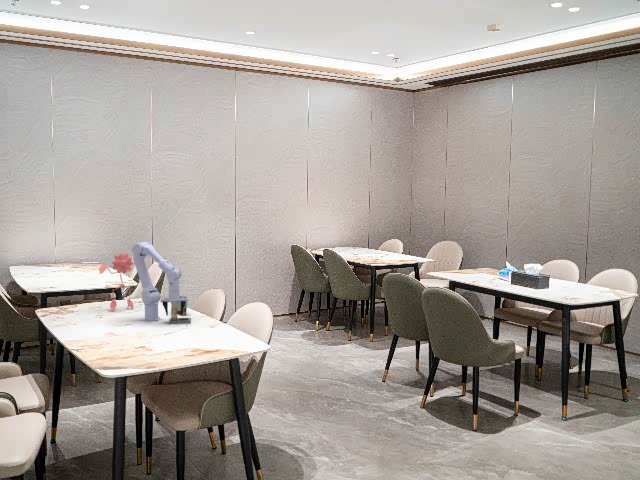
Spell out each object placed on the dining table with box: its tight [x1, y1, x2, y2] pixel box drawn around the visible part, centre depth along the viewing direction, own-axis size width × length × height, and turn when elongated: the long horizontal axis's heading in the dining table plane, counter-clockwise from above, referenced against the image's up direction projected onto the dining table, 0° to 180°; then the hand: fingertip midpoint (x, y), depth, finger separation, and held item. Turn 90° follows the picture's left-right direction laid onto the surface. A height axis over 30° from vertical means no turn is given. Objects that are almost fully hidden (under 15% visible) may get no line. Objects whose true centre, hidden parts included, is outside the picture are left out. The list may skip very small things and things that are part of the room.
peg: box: [170, 308, 178, 320], centre depth 345 cm, size 3×3×6 cm
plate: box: [168, 317, 192, 325], centre depth 346 cm, size 8×12×2 cm
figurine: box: [98, 252, 141, 314], centre depth 372 cm, size 15×26×35 cm, turn 122°
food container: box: [170, 295, 188, 317], centre depth 368 cm, size 12×6×10 cm, turn 58°
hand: (174, 315), depth 345 cm, fingers open, 7 cm apart
